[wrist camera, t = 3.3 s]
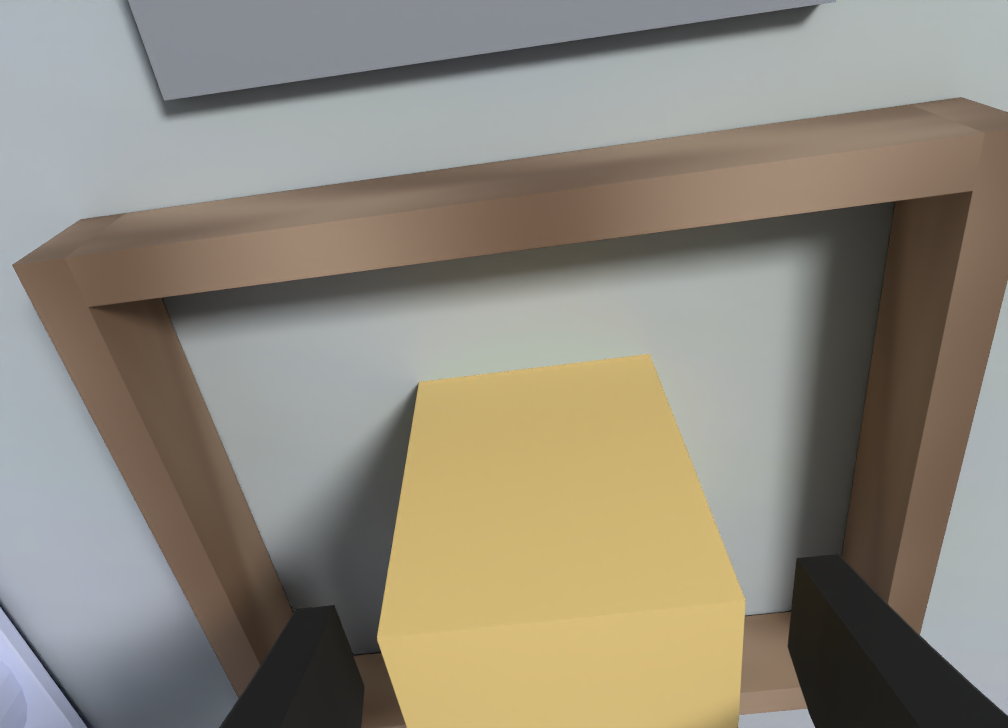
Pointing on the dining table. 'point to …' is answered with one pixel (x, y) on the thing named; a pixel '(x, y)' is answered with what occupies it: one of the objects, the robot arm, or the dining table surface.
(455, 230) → the wooden picture frame
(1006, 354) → the dining table surface
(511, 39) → the mat
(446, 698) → the ochre block
